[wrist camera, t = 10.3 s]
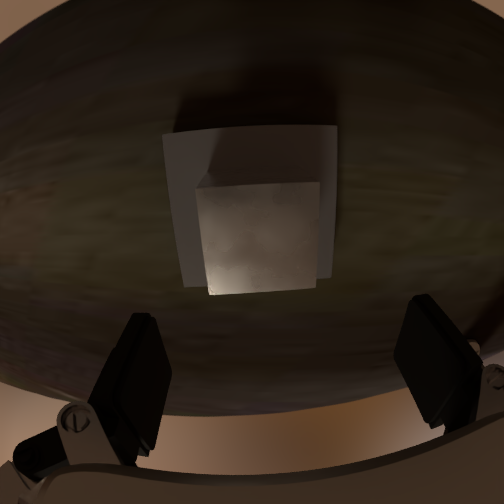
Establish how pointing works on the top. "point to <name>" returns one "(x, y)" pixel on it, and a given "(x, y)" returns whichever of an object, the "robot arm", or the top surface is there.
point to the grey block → (247, 156)
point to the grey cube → (259, 229)
